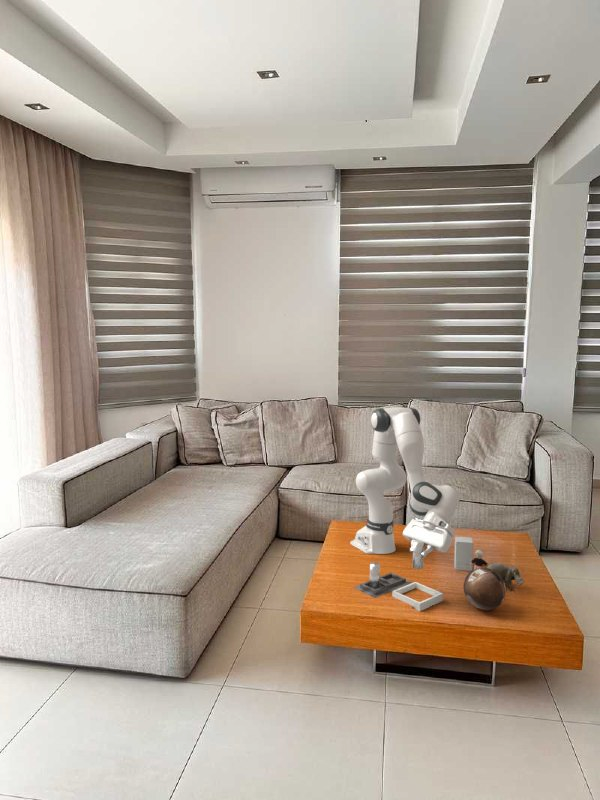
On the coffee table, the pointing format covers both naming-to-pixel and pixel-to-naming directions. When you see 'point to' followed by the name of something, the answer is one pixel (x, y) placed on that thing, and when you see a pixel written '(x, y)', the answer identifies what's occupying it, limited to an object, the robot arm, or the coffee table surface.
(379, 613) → the coffee table surface
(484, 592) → the brown metallic sphere
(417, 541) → the ball
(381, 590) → the tray
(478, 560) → the grandmother figurine
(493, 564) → the rhinoceros figurine
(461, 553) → the supplement box
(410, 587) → the white square frame
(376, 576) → the seated billet
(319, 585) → the coffee table surface
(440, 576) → the coffee table surface
